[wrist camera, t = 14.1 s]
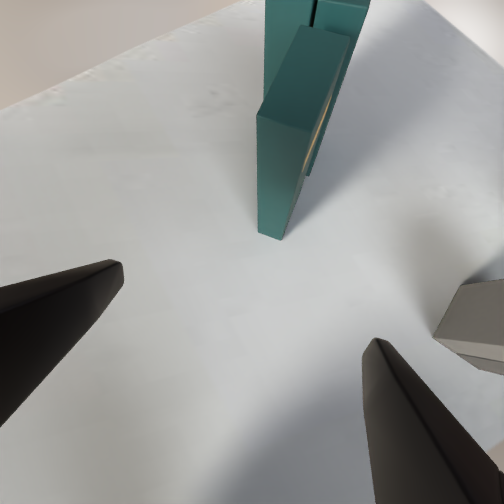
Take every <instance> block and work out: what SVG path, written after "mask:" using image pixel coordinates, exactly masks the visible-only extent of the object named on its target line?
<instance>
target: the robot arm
mask: <svg viewBox="0 0 504 504" xmlns="http://www.w3.org/2000/svg"><path fill="white" fill-rule="evenodd" d="M123 283H124V274H123V266H122V263H121V262H119V261H115V260H112V259H108V260H104V261H100V262H96V263H93V264H89V265H85V266H81V267H77V268H73V269H69V270H66V271H62V272H58V273H54V274H50V275H46V276H42V277H38V278H35V279H31V280H27V281H23V282H19V283H15V284H11V285H7V286H4V287H0V427H1V426H2V425H3V424H4V423H5V422H6V421H7V420H8V418H9V417H10V416H11V415H12V414H13V413H14V412H15V411H16V410H17V408H18V407H19V406H20V405H21V404H22V403H23V402H24V401H25V400H26V399H27V397H28V396H29V395H30V394H31V393H32V392H33V391H34V390H35V389H36V387H37V386H38V385H39V384H40V383H41V382H42V381H43V380H44V379H45V377H46V376H47V375H48V374H49V373H50V372H51V371H52V370H53V369H54V368H55V366H56V365H57V364H58V363H59V362H60V361H61V360H62V359H63V358H64V356H65V355H66V354H67V353H68V352H69V351H70V350H71V349H72V348H73V346H74V345H75V344H76V343H77V342H78V341H79V340H80V339H81V338H82V337H83V335H84V334H85V333H86V332H87V331H88V330H89V329H90V328H91V327H92V325H93V324H94V323H95V322H96V321H97V319H98V318H99V317H100V316H101V314H102V313H103V312H104V310H105V309H106V308H107V306H108V305H109V304H110V302H111V301H112V300H113V298H114V297H115V295H116V294H117V293H118V291H119V290H120V289H121V287H122V286H123ZM362 384H363V409H364V418H365V426H366V433H367V441H368V448H369V456H370V464H371V471H372V479H373V486H374V494H375V502H376V504H504V473H503V472H502V471H499V469H498V467H497V465H496V464H495V463H494V462H493V461H492V460H491V459H490V457H489V456H488V455H487V454H486V453H485V452H484V450H483V449H482V448H481V447H480V446H479V445H478V444H477V442H476V441H475V440H474V439H473V438H472V437H471V435H470V434H469V433H468V432H467V431H466V430H465V429H464V427H463V426H462V425H461V424H460V423H459V422H458V421H457V419H456V418H455V417H454V416H453V415H452V414H451V412H450V411H449V410H448V409H447V408H446V407H445V406H444V404H443V403H442V402H441V401H440V400H439V399H438V398H437V396H436V395H435V394H434V393H433V392H432V391H431V389H430V388H429V387H428V386H427V385H426V384H425V383H424V381H423V380H422V379H421V378H420V377H419V376H418V375H417V373H416V372H415V371H414V370H413V369H412V368H411V367H410V365H409V364H408V363H407V362H406V361H405V360H404V358H403V357H402V356H401V355H400V354H399V353H398V352H397V350H396V349H395V348H394V347H393V346H392V345H391V344H390V342H388V341H386V340H383V339H380V338H373V339H372V341H371V342H370V344H369V345H368V347H367V348H366V350H365V351H364V353H363V356H362Z"/></svg>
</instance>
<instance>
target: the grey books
mask: <svg viewBox="0 0 504 504" xmlns="http://www.w3.org/2000/svg"><path fill="white" fill-rule="evenodd" d="M433 339H435V340H436V341H438V342H439V343H441V344H442V345H444V346H445V347H447V348H448V349H450V350H451V351H453V352H454V353H456V354H457V355H458V356H460V357H461V358H463V359H464V360H466V361H467V362H469V363H470V364H472V365H473V366H475V367H476V368H477V369H480V370H484V371H488V372H492V373H496V374H500V375H504V279H500V280H493V281H487V282H480V283H474V284H467V285H461V286H460V287H459V289H458V291H457V293H456V294H455V296H454V298H453V300H452V302H451V304H450V306H449V307H448V309H447V311H446V313H445V315H444V317H443V319H442V320H441V322H440V324H439V326H438V328H437V330H436V332H435V334H434V335H433Z"/></svg>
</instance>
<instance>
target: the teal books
mask: <svg viewBox="0 0 504 504" xmlns="http://www.w3.org/2000/svg"><path fill="white" fill-rule="evenodd" d="M370 1H371V0H265V48H264V99H265V97H266V95H267V92H268V90H269V88H270V86H271V84H272V82H273V80H274V78H275V76H276V74H277V72H278V70H279V68H280V66H281V64H282V61H283V59H284V57H285V55H286V53H287V51H288V49H289V47H290V45H291V43H292V41H293V39H294V37H295V35H296V33H297V30H298V28H299V26H300V25H305V26H309V27H313V28H317V29H321V30H325V31H329V32H333V33H337V34H341V35H345V36H349V37H350V42H349V45H348V48H347V51H346V54H345V57H344V60H343V63H342V66H341V69H340V72H339V75H338V78H337V81H336V84H335V87H334V90H333V93H332V96H331V100H330V103H329V106H328V109H327V112H326V115H325V118H324V121H323V124H322V127H321V130H320V133H319V136H318V139H317V142H316V145H315V148H314V151H313V154H312V157H311V160H310V164H309V167H308V170H307V173H306V176H309V175H310V173H311V170H312V167H313V164H314V161H315V158H316V156H317V153H318V150H319V147H320V144H321V141H322V139H323V136H324V133H325V130H326V127H327V125H328V122H329V119H330V116H331V113H332V110H333V108H334V105H335V102H336V99H337V96H338V94H339V91H340V88H341V85H342V82H343V79H344V77H345V74H346V71H347V68H348V65H349V62H350V60H351V57H352V54H353V51H354V48H355V46H356V43H357V40H358V37H359V34H360V31H361V29H362V26H363V23H364V20H365V17H366V15H367V12H368V9H369V5H370ZM263 101H264V100H263Z"/></svg>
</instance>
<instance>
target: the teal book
mask: <svg viewBox="0 0 504 504" xmlns="http://www.w3.org/2000/svg"><path fill="white" fill-rule="evenodd" d="M349 42H350V37H349V36H345V35H341V34H337V33H333V32H329V31H325V30H321V29H317V28H313V27H309V26H305V25H300V26H299V28H298V30H297V33H296V35H295V37H294V39H293V41H292V43H291V45H290V47H289V49H288V51H287V53H286V55H285V57H284V59H283V61H282V64H281V66H280V68H279V70H278V72H277V74H276V76H275V78H274V80H273V82H272V84H271V86H270V88H269V90H268V92H267V95H266V97H265V99H264V101H263V103H262V105H261V107H260V109H259V111H258V113H257V115H256V118H257V195H258V232H259V233H262V234H264V235H267V236H270V237H272V238H275V239H278V240H282V237H283V235H284V232H285V230H286V227H287V224H288V222H289V219H290V217H291V214H292V212H293V209H294V207H295V204H296V201H297V199H298V196H299V194H300V191H301V188H302V185H303V182H304V179H305V176H306V173H307V170H308V167H309V164H310V160H311V157H312V154H313V151H314V148H315V145H316V142H317V139H318V136H319V133H320V130H321V127H322V124H323V121H324V118H325V115H326V112H327V109H328V106H329V103H330V100H331V96H332V93H333V90H334V87H335V84H336V81H337V78H338V75H339V72H340V69H341V66H342V63H343V60H344V57H345V54H346V51H347V48H348V45H349Z"/></svg>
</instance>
